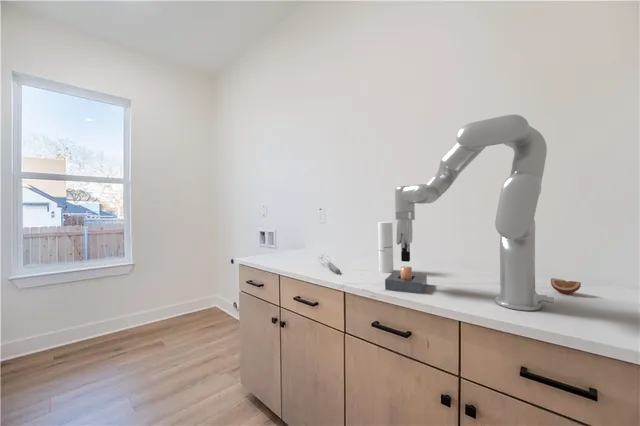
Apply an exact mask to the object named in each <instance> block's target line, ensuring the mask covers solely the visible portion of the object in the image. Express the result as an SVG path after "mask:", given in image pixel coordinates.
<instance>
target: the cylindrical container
mask: <svg viewBox="0 0 640 426" xmlns="http://www.w3.org/2000/svg"><path fill="white" fill-rule="evenodd" d="M377 230H378V231H377V234H378V235H377V236H378V237H377V238H378V239H377V240H378V272H380V273H383V274H384V273H385V274H388V273H389V274H391V273H393V272H394V243H393V242H394V239H393V235H394V233H393V232H394V231H393V230H394V229H393V221H379V222H377Z"/></svg>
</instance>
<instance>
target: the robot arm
mask: <svg viewBox="0 0 640 426" xmlns="http://www.w3.org/2000/svg"><path fill="white" fill-rule="evenodd" d="M497 145H505V146H507V147H509V148H511V149H512V150H513V152H514V156H513V158H512V163H511V164H512V165H511V170H510V173H509V174H510V175H509V176H508V177H507V178H506V179H505V181H504V182H503V184H502V186H501V189H500V194H499V199H498V203H497V204H498V205H497V210H496V215H495V220H494V222H495V223H494V225H495V229H496V232H497V233H498V234H499V236H500V237H499V285H500V289H499V290H500V292H499V293H500V294H499V295H497V296H496V297H495V298H494V301H495V303H496V304H497V305H500V306H501V307H505V308H508V309H512V310H517V311H527V312H529V311H531V312H533V311H538V310H541V309H542V303H547V304H555V297H554V296H548V295H546V294H539V293H538V292H537V291H536V221H535V216H536V210H537V206H538V202H539V197H540V196H541V192H542V182H543V176H544V173H545V166H546V159H547V152H548V148H547V142H546V139H545V137H544V136H543V135H542V133H541V132H539V131H538V129H535V128H534V127H533V126H531V125H530V123H529V122H528V120H527V118H525V117H524V116H522V115H519V114H507V115H505V114H504V115H500V116H498V117H497V116H496V117H492V118H491V117H490V118H488V119H482V120H478V121H474V122H470V123H467V124H465V125H463V126H462V127H461V128H460V129H459V130H458V132H457V133H456V143H454V145H452V147H450V149H449V150H448V151H447V152H446V153H445V154H444V155H443V156H442V157H441V159H440V161H439V167H438V170H437V172H436V173H435V174H434V176H433V177H432V179H430V181H428V182H427V184H423V183H419V184H418V183H417V184H414V185H399V186H396V188H395V189H394V192H395V193H394V198H395V200H394V202H395V205H394V206H395V221H396V222H397V223H396V238H395V240H396V241H395V242H396V245H398V246H399V245H400V250H401V251H400V257H401V259H400V260H401V262H406V263H407V262H410V261H411V251H410V250H411V249H410V248H411V246H410V244H412V242H413V221H416V218H415V215H416V214H415V213H416V212H415V210H416V209H415V207H416V206H415V204H420V205H421V204H422V205H424V204H433V203H434V202H436V201H437V200H438V199H440V197H441V196H443V195H444V193H446V191H448V190H449V188H451V186H452V185H453V184H454V182H455V181H456V179H457V178H458V177H459V175H460V174H461V173H462V172H463V171H464V170H465V169H466V167H468V166H469V165H470V163H472V162H473V161H474V160H475V159H476V157H478V156H479V155H480V154H481V153H482V152H483V151H484V150H485V149H486V147H491V146H497Z"/></svg>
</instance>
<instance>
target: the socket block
mask: <svg viewBox="0 0 640 426" xmlns="http://www.w3.org/2000/svg"><path fill="white" fill-rule="evenodd" d="M427 280H428V279H427V274H421V273H412V279H401V272H396V271H395V272H394V271H393V272H391V273H390V275H389V276H387V277H386V278H385V279H384V287H385V288H384V290H385V291H395V292H403V293H404V292H405V293H412V294H413V293H415V294H423V292H424V291H425V288H426V287H427V284H428V281H427Z"/></svg>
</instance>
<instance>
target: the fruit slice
mask: <svg viewBox="0 0 640 426" xmlns="http://www.w3.org/2000/svg"><path fill="white" fill-rule="evenodd" d="M550 285H551V286H552V288H553V289H554V290H555V291H557V292H558V293H561V294H566V295H567V294H569V295H570V294H573V293H576V292H577V291H579V289H581V287H582V286H581V285H582V283H581V282H580V281H573V280H572V281H571V280H570V281H569V280H568V281H567V280H564V279H561V278H553V277H551V278H550Z"/></svg>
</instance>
